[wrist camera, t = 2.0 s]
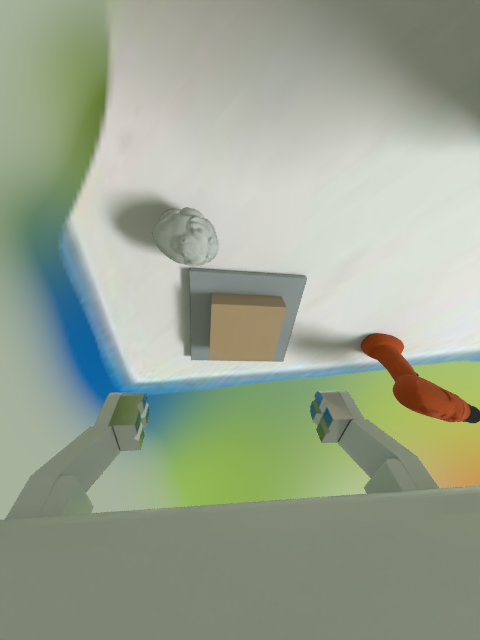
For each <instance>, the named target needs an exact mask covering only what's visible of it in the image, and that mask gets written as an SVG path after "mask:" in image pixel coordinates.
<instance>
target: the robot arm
mask: <svg viewBox="0 0 480 640" xmlns="http://www.w3.org/2000/svg"><path fill="white" fill-rule="evenodd" d="M146 401H147V394H146V393H110V394H109V395H108V396H107V399H106V401H105V403H104V405H103V408H102V410H101V412H100V414H99V416H98V418H97V421H96V423H95V425H94V427H89V428H88V429H87V430H86V431H84V432H83V433H82V434H81V435H80V436H78V437H77V438H76V439H75V440H74V441H72V442H71V443H70V444H69V445H68V446H66V447H65V448H64V449H63V450H61V451H60V452H59V453H58V454H57V455H56V456H54V457H53V458H52V459H51V460H49V461H48V462H47V463H46V464H45V465H43V466H42V467H41V468H40V469H38V470H37V471H36V472H35V473H34V474H33V475H31V476H30V478H29V480H28V481H27V483H26V485H25V487H24V488H23V490H22V491H21V493H20V495H19V497H18V498H17V500H16V502H15V503H14V505H13V507H12V508H11V510H10V512H9V513H8V515H7V517H6V519H5V520H0V640H480V486H470V487H455V488H441V489H439V487H438V486H437V484H436V483H435V481H434V480H433V479H432V477H431V476H430V474H429V473H428V471H427V470H426V469H425V467H424V466H423V464H422V463H421V461H420V460H419V458H418V457H417V456H416V455H414V454H413V453H412V452H410V451H409V450H408V449H406V448H405V447H404V446H402V445H401V444H400V443H398V442H397V441H396V440H394V439H393V438H392V437H390V436H389V435H388V434H386V433H385V432H384V431H382V430H381V429H380V428H378V427H377V426H376V425H374V424H373V423H371V422H370V421H369V420H367V419H364V417H363V416H362V414H361V412H360V410H359V409H358V407H357V405H356V404H355V402H354V400H353V399H352V397H351V395H350V394H349V392H347V391H318V392H316V394H315V400H314V401H313V402H312V403H311V406H310V412H311V417H312V420H313V422H315V423H316V424H317V425H318V426H317V429H316V430H317V433H318V435H319V438H320V440H321V442H322V443H330V442H331V443H333V442H334V443H337V442H339V443H338V444H339V445H340V446H341V447H342V448H343V449H344V450H345V451H346V452H347V453H348V454H349V455H350V457H351V458H352V459H353V460H354V461H355V462H356V463H357V464H358V465H359V466H360V467H361V468H362V469H363V470H364V471H365V472H366V474H367V475H368V476H369V477H370V478H371V479H370V480H369V481H368V483H367V484H366V485H365V487H364V489H365V491H366V493H367V494H357V495H342V496H328V497H315V498H301V499H287V500H272V501H259V502H244V503H230V504H217V505H202V506H188V507H174V508H160V509H147V510H133V511H118V512H104V513H91V512H92V509H93V505H92V503H91V501H90V500H89V498H88V496H87V495H86V492H87V491H88V490H89V488H90V487H91V486H92V485H93V484H94V482H95V481H96V480H97V479H98V478H99V477H100V475H101V474H102V473H103V472H104V471H105V470H106V468H107V467H108V466H109V465H110V464H111V462H112V461H113V460H114V459H115V458H116V457H117V455H118V454H119V453H120V451H131V450H141V446H142V443H143V439H144V430H143V429H144V428H145V427H146V426H147V423H148V418H149V405H148V404H147V403H146Z"/></svg>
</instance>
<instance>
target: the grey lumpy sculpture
mask: <svg viewBox="0 0 480 640" xmlns="http://www.w3.org/2000/svg"><path fill="white" fill-rule="evenodd" d="M152 234H153V238H154V241H155V243H156V245H157V247H158V248H159V249H160V251H161V252H163V253H164V254H165V255H166V256H167V257H169V258H170V259H172V260H173V261H175V262H177V263H180V264H185V265H189V266H198V265H203V264H205V263H208V262H210V261H211V260H212V259H214V258H215V257H216V255H217V254H218V250H219V241H218V238H217V235H216V232H215V229H214V227H213V225H212V223H211V222H209V221H208V220H207V219H204V216H203V214H202V213H200V212H199V211H197V210H195V209H192V208H188V207H186V208H183V209H182V210H179V209H172V210H169V211H167V212H166V213H164V214H163V215H162V216H161V218H160V219H159V223H158V224H157V225H156V226H155V228H154V230H153V233H152Z"/></svg>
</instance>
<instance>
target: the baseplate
mask: <svg viewBox="0 0 480 640" xmlns="http://www.w3.org/2000/svg"><path fill="white" fill-rule="evenodd" d="M306 280H307V278H306V277H305V276H303V275H288V274H273V273H258V272H242V271H227V270H212V269H196V268H190V321H191V360H222V361H279V362H283V360H284V357H285V353H286V350H287V346H288V343H289V339H290V336H291V333H292V329H293V326H294V322H295V319H296V315H297V312H298V308H299V305H300V301H301V298H302V294H303V291H304V287H305V284H306Z"/></svg>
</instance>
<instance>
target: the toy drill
mask: <svg viewBox="0 0 480 640" xmlns="http://www.w3.org/2000/svg"><path fill="white" fill-rule="evenodd" d="M361 348H362V350H363V352H364V353H365V354H367V355H368V356H370V357H371V358H374V359H377V360H378V361H379V362H380V363H381V364H382V365H383V366H384V367H385V368H386V369H387V370H388V372H389V373H390V374H391V376H392V377H393V379H394V380H395V384H394V387H393V393H394V396H395V397H396V399H397V400H398V401H399V402H400V403H401V404H402V405H404V406H405V407H407V408H409V409H411V410H413V411H415V412H417V413H420V414H423V415H426V416H430V417H433V418H437V419H441V420H444V421H448V422H456V421H457V422H461V421H463V422H469V423H477V422H479V421H480V411H479V410H478V409H477V408H476V407H474V406H471V405H469V404H467V403H466V402H465V401H464V400H462V399H461V398H459V397H458V396H457V395H455V394H453V393H451V392H449V391H447V390H444V389H442V388H441V387H439V386H437V385H435V384H433V383H431V382H429V381H427V380H425V379H423V378H420V377H418V374H417V373H416V372H415V371H414V370H413V368H412V367H411V365H410V364H409V363H408V362H407V361H406V360H405V358H404V357H403V356H402V355H401V353H402V351H403V349H404V345H403V343H402V342H401V340H399V339H397V338H396V337H393V336H390V335H386V334H373V335H370V336H369V337H367V338H366V339H365V340H364V341H363V342H362V345H361Z"/></svg>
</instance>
